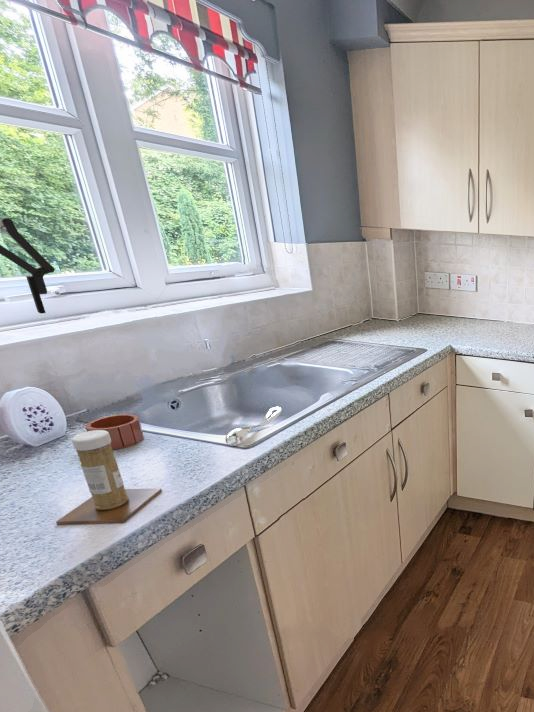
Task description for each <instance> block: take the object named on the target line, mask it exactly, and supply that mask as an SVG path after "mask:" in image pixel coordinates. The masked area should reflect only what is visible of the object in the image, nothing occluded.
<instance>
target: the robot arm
mask: <svg viewBox="0 0 534 712" xmlns="http://www.w3.org/2000/svg"><path fill="white" fill-rule="evenodd" d="M0 231H1V232H3V233H7V235H8V236H9V237H10V238H11V239H12V240H13V241H14V242H15V243H17V245H18V246H19V247H20V248H21V249H22V250H23V251H24V252H26V254H28V256H30V258H31V259H33V261H34V262H35V263H36V264H38V265H39V266H38V267H35V266H33V265H32V264H30V263H29V262H28V261H26V260H24V259H22V258H21V257H20V256H18V255H17V254H15V253H13V252H12V251H10V250H9V249H8V248H6V247H5V246H3V245H2V244H0V255H2V256H3V257H5V258H6V259H8V260H9V261H10V262H12V263H14V264H15V265H17V266H19V267H20V268H22V269H23V270H25V271H27V272H28V273H30V274H31V275H26V276H25V278H26V280H27V284H28V287H29V289H30V292H31V296H32V299H33V302H34V305H35V307H36V311H37V312H38V313H39V314H46V310H45V307H44V304H43V300H42V297H41V295H47V294H48V289H47V286H46V283H45V280H44V279H45V278H44V276H45V275H47V274H50V273H54V272H55V269H56V268H54V267H53V265H52V264H51V263H50V262H48V260H47V259H45V258H44V256H42V254H41V253H40V252H39V251H38V250H37V249H36V248H35V247H34V246H33V245H32V244H31V243H30V242H29V241H28V240H27V239H26V238H25V237H24V236H23V235H22V234H21V233H20V232H18V229H17V227H16V224H15V223H14V221H13V220H12V219H11V218H8V217H3V218H0Z"/></svg>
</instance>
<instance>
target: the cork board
mask: <svg viewBox="0 0 534 712" xmlns="http://www.w3.org/2000/svg"><path fill="white" fill-rule="evenodd" d="M125 491H126V494H127V496H128V501H127V502H126V503H124V504H123V505H121V506H119V507H116V508H113V509H108V510H98V509H96V508H95V506H94V505H95V503H94V500H93V497H92V496H91V497H89V498H88V499H87V500H85V501H84V502H82V503H81V504H80V505H78V506H76V507H75V508H74V509H72V510H71V511H69V512H68V513H66V514H65V515H64V516H62V517H61V518H59V519H58V520H56V522H55V523H56V525H57V526H58V525H59V526H60V525H63V526H64V525H90V524H91V525H92V524H93V525H94V524H124V523H126V521H128V520H129V519H130V518H131V517H133V516H134V515H135V514H136V513H138V512H139V511H140V510H141V509H142V508H143V507H145V506H147V504H148V503H149V502H151V501H152V500H153V499H155V498H156V497H157V496H158V495H159V494H160V493H162V491H163V490H162V488H160V487H159V488H125Z"/></svg>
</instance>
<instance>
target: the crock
mask: <svg viewBox="0 0 534 712" xmlns="http://www.w3.org/2000/svg"><path fill="white" fill-rule="evenodd" d="M85 430H86V431H85V432H88V431H94V430H104V431H107V432H108V433H109V435H110V438H111V447H112V451H114V450H119V449H124V448H127V447H130V446H133V445H136V444H138V443H140V442H142V441H144V437H145V435H144V431H143V428H142V424H141V420H140V417H139V416H138V415H136V414H132V413H131V414H130V413H122V414H120V413H119V414H113V415H108V416H103V417H100V418H96V419H94V420H91V421H89V422H88V423H86V425H85Z"/></svg>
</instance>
